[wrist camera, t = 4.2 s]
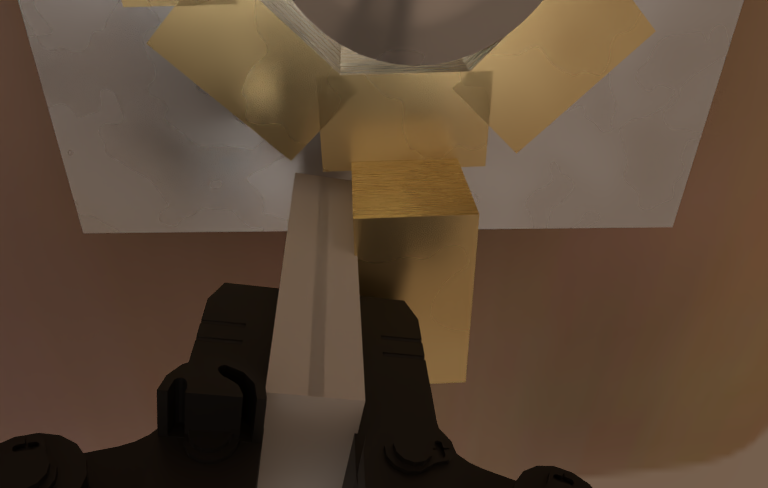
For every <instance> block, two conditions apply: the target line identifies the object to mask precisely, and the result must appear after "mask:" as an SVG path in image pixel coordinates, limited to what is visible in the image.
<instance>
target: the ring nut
mask: <svg viewBox="0 0 768 488" xmlns="http://www.w3.org/2000/svg"><path fill="white" fill-rule="evenodd" d="M122 4H123V7H153V6H174V8H173V9H172V10H171V12H170V13H169V14H168V16H167V17H166V18H165V19H164V21H163V22H162V23H161V25H160V26H159V27H158V29H157V30H156V31H155V33H154V34H153V35H152V37H151V38H150V39H149V41H148V42H147V43H146V44H147V45H149V46H150V47H151V48H152V49H153V50H155V51H156V52H157V53H158V54H160V55H161V56H162V57H163V58H165V59H166V60H167V61H168V62H170V63H171V64H172V65H173V66H174V67H176V68H177V69H178V70H179V71H181V72H182V73H183V74H184V75H186V76H187V77H188V78H189V79H190V80H192V81H193V82H194V83H195V84H197V85H198V86H199V87H200V88H202V89H203V90H204V91H205V92H207V93H208V94H209V95H210V96H211V97H213V98H214V99H215V100H216V101H218V102H219V103H220V104H221V105H223V106H224V107H225V108H226V109H227V110H229V111H230V112H231V113H232V114H234V115H235V116H236V117H237V118H239V119H240V120H241V121H242V122H244V123H245V124H246V125H247V126H248V127H250V128H251V129H252V130H253V131H255V132H256V133H257V134H258V135H260V136H261V137H262V138H263V139H264V140H266V141H267V142H268V143H269V144H271V145H272V146H273V147H274V148H276V149H277V150H278V151H279V152H281V153H282V154H283V155H284V156H285V157H287V158H288V159H289V160H290V161H292V160H293V158H294V157H295V156H296V155H297V154H298V153H299V152H300V151H301V150H302V149H303V148H304V147H305V146H306V145H307V144H308V143H309V142H310V141H311V140H312V139H313V138H314V137H315V135H316V134H317V133H318V132H319V131H320V138H321V152H322V166H323V172H330V171H352V203H353V232H354V256H357V257H358V275H359V294H360V296H366V297H375V298H385V299H394V300H403V301H405V302H406V304H407V305H408V306H409V308H410V309H411V310H412V312H413V313H414V314H415V316H416V317H417V318H418V321H419V327H420V332H421V338H422V341H421V343H423V349H424V354H425V358H424V360H426V365H427V371H428V376H429V382H430V384H437V383H457V382H466V371H467V359H468V347H469V335H470V323H471V311H472V299H473V287H474V275H475V262H476V250H477V238H478V226H479V212H478V209H477V207H476V204H475V202H474V199H473V197H472V194H471V192H470V189H469V186H468V184H467V181H466V179H465V176H464V174H463V171H462V169H461V167H479V166H485V165H486V153H487V141H488V129H489V126H490V127H491V128H492V129H493V130H494V131H495V132H496V133H497V134H498V135H499V136H500V137H501V138H502V139H503V140H504V141H505V143H506V144H507V145H508V146H509V147H510V148H511V149H512V150H513V151H514V152H515V153H516V154H517V153H518V152H519V151H520V150H521V149H522V148H524V147H525V146H526V145H527V144H528V143H529V142H530V141H532V140H533V139H534V138H535V137H536V136H537V135H538V134H539V133H541V132H542V131H543V130H544V129H545V128H546V127H547V126H549V125H550V124H551V123H552V122H553V121H554V120H555V119H557V118H558V117H559V116H560V115H561V114H562V113H563V112H565V111H566V110H567V109H568V108H569V107H570V106H571V105H573V104H574V103H575V102H576V101H577V100H578V99H579V98H580V97H582V96H583V95H584V94H585V93H586V92H587V91H588V90H590V89H591V88H592V87H593V86H594V85H595V84H596V83H598V82H599V81H600V80H601V79H602V78H603V77H604V76H606V75H607V74H608V73H609V72H610V71H611V70H612V69H614V68H615V67H616V66H617V65H618V64H619V63H620V62H621V61H623V60H624V59H625V58H626V57H627V56H628V55H629V54H631V53H632V52H633V51H634V50H635V49H636V48H637V47H639V46H640V45H641V44H642V43H643V42H644V41H645V40H647V39H648V38H649V37H650V36H651V35H652V34H653V33H655V32H656V31H655V29H654V28H653V27H652V25H651V24H650V23H649V21H648V20H647V18H646V17H645V16H644V14H643V13H642V12H641V10H640V9H639V8H638V6H637V5H636V4H635V2H634V1H633V0H543V1H542V2H541V3H540V5H539V6H538V7H537V8H536V9H535V10H534V11H533V12H532V13H531V14H530V15H529V16H528V17H527V18H526V19H525V20H524V21H523V22H522V23H521V24H520V25H519V26H517V27H516V28H515V29H514V30H513V31H511V32H510V33H509V34H508V35H506V36H505V37H503V38H502V39H500V40H498V41H497V42H495V43H494V44H492V45H491V46H489V47H487V48H485V49H483V50H480V51H478V52H476V53H474V54H472V55H469V56H466V57H463V58H460V59H457V60H454V61H450V62H445V63H440V64H434V65H419V66H412V65H398V64H392V63H387V62H382V61H377V60H374V59H372V58H369V57H366V56H363V55H360V54H358V53H356V52H354V51H352V50H350V49H348V48H346V47H344V46H342V45H340V44H339V43H338V42H336V41H335V40H333V39H332V38H330V37H329V36H327V35H326V34H324V33H323V32H322V31H321V30H320V29H319V28H318V27H317V26H315V25H314V24H313V23H312V22H311V21H310V20H309V19H308V18H307V17H306V16H305V15H304V14H303V12H302V11H301V10H300V9H299V8H298V7H297V6H296V4H295V3H294V2H293V0H122Z"/></svg>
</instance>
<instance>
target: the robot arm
mask: <svg viewBox="0 0 768 488" xmlns="http://www.w3.org/2000/svg"><path fill="white" fill-rule="evenodd" d="M421 341H422V338H421V332H420V327H419V321H418V318H417V317H416V316H415V314H414V313H413V312H412V310H411V309H410V308H409V306H408V305H407V304H406V302H405V301H403V300H394V299H385V298H375V297H366V296H360V294H359V275H358V257H357V256H354V232H353V203H352V180H345V179H337V178H330V177H324V176H316V175H309V174H302V173H295V178H294V185H293V192H292V200H291V207H290V214H289V221H288V229H287V236H286V243H285V250H284V258H283V265H282V272H281V279H280V287H279V289H277V288H268V287H259V286H250V285H240V284H231V283H224V284H223V285H222V286H221V287H220V288H219V289H218V290H217V291H216V292H214V293H213V294H212V295H211V296H210V297H209V298H208V300H207V303H206V306H205V310H204V313H203V316H202V321H201V323H200V326H199V330H198V333H197V337H196V340H195V343H194V346H193V350H192V353H191V356H190V360H189V362H188V363H185V364H182V365H181V366H179V367H178V368H176V369H175V370H173V371H172V372H171V373H169V374H168V375H166V377H165V378H164V380H163V381H162V383H161V385H160V386H159V388H158V389H157V424H158V429H157V430H155V431H154V432H153V433H151V434H150V435H148V436H146V437H144V438H142V439H140V440H138V441H135V442H132V443H129V444H125V445H122V446H118V447H113V448H108V449H103V450H98V451H93V452H88V453H83V452H82V451H81V449H80V448H79V446H78V445H77V444H76V443H74V442H72V441H70V440H68V439H66V438H64V437H62V436H61V435H52V434H43V433H36V434H30V435H24V436H18V437H14V438H11V439H9V440H7V441H5V442H2V443H0V488H592V487H591V486H590V484H588V483H587V482H585V481H584V480H582V479H581V478H579V477H578V476H576V475H575V474H574V473H572V472H569V471H566V470H563V469H561V468H558V467H555V466H535V467H533V468H530V469H528V470H526V471H523V472H522V474H521V475H520V476H519V478H518V479H517V480H516V481H515V480H512V479H509V478H507V477H504V476H501V475H498V474H495V473H493V472H490V471H487V470H484V469H482V468H480V467H477V466H475V465H473V464H471V463H469V462H467V461H466V460H465V459H463V458H462V457H460V456H459V455H458V454H456V451H455V449H454V447H453V444H452V442H451V441H450V440H449V439H448V437H447V436H446V435H445V434H444V433H443V432H442V431H441V430H440V429H439V428H438V424H437V421H436V415H435V410H434V404H433V399H432V393H431V388H430V382H429V376H428V371H427V365H426V360H424V358H425V354H424V349H423V343H421Z"/></svg>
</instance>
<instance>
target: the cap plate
mask: <svg viewBox="0 0 768 488" xmlns="http://www.w3.org/2000/svg"><path fill="white" fill-rule="evenodd" d="M542 1H543V0H293V2H294V3H295V4H296V6H297V7H298V8H299V9H300V10H301V11H302V12H303V14H304V15H305V16H306V17H307V18H308V19H309V20H310V21H311V22H312V23H313V24H314V25H315V26H317V27H318V28H319V29H320V30H321V31H322V32H323V33H324V34H326V35H327V36H329V37H330V38H332V39H333V40H335V41H336V42H338V43H339V44H340V45H342V46H344V47H346V48H348V49H350V50H352V51H354V52H356V53H358V54H360V55H363V56H366V57H369V58H372V59H374V60H377V61H382V62H387V63H392V64H398V65H412V66H419V65H434V64H440V63H445V62H450V61H454V60H457V59H460V58H463V57H466V56H469V55H472V54H474V53H476V52H478V51H480V50H483V49H485V48H487V47H489V46H491V45H492V44H494V43H495V42H497V41H498V40H500V39H502V38H503V37H505V36H506V35H508V34H509V33H510V32H511V31H513V30H514V29H515V28H516V27H517V26H519V25H520V24H521V23H522V22H523V21H524V20H525V19H526V18H527V17H528V16H529V15H530V14H531V13H532V12H533V11H534V10H535V9H536V8H537V7H538V6H539V5H540V3H541V2H542ZM633 1H634V2H635V4H636V5H637V6H638V8H639V9H640V10H641V12H642V13H643V14H644V16H645V17H646V18H647V20H648V21H649V23H650V24H651V25H652V27H653V28H654V29H655V31H656V32H655V33H653V34H652V35H651V36H650V37H649V38H648V39H647V40H645V41H644V42H643V43H642V44H641V45H640V46H639V47H637V48H636V49H635V50H634V51H633V52H632V53H631V54H629V55H628V56H627V57H626V58H625V59H624V60H623V61H621V62H620V63H619V64H618V65H617V66H616V67H615V68H614V69H612V70H611V71H610V72H609V73H608V74H607V75H606V76H604V77H603V78H602V79H601V80H600V81H599V82H598V83H596V84H595V85H594V86H593V87H592V88H591V89H590V90H588V91H587V92H586V93H585V94H584V95H583V96H582V97H580V98H579V99H578V100H577V101H576V102H575V103H574V104H573V105H571V106H570V107H569V108H568V109H567V110H566V111H565V112H563V113H562V114H561V115H560V116H559V117H558V118H557V119H555V120H554V121H553V122H552V123H551V124H550V125H549V126H547V127H546V128H545V129H544V130H543V131H542V132H541V133H539V134H538V135H537V136H536V137H535V138H534V139H533V140H532V141H530V142H529V143H528V144H527V145H526V146H525V147H524V148H522V149H521V150H520V151H519V152H518V153H517V154H516V153H515V152H514V151H513V150H512V149H511V148H510V147H509V146H508V145H507V144H506V143H505V141H504V140H503V139H502V138H501V137H500V136H499V135H498V134H497V133H496V132H495V131H494V130H493V129H492V128H491V127H490V126H489V129H488V141H487V153H486V165H485V166H479V167H461V169H462V171H463V174H464V176H465V179H466V181H467V184H468V186H469V189H470V192H471V194H472V197H473V199H474V202H475V204H476V207H477V209H478V212H479V226H478V229H542V228H637V227H673V224H674V221H675V217H676V214H677V211H678V208H679V205H680V202H681V198H682V195H683V192H684V189H685V186H686V183H687V179H688V176H689V173H690V170H691V167H692V163H693V160H694V157H695V154H696V151H697V148H698V144H699V141H700V138H701V135H702V132H703V128H704V125H705V122H706V119H707V116H708V113H709V109H710V106H711V103H712V100H713V97H714V93H715V90H716V87H717V84H718V81H719V78H720V74H721V71H722V68H723V65H724V62H725V59H726V55H727V52H728V49H729V46H730V43H731V39H732V36H733V33H734V30H735V27H736V24H737V20H738V17H739V14H740V11H741V8H742V4H743V1H744V0H633ZM18 3H19V6H20V10H21V13H22V17H23V20H24V24H25V28H26V31H27V35H28V38H29V42H30V45H31V49H32V53H33V56H34V60H35V63H36V67H37V70H38V74H39V78H40V81H41V85H42V88H43V92H44V95H45V99H46V103H47V106H48V110H49V113H50V117H51V120H52V124H53V127H54V131H55V135H56V138H57V142H58V145H59V149H60V152H61V156H62V160H63V163H64V167H65V170H66V174H67V177H68V181H69V185H70V188H71V192H72V195H73V199H74V202H75V206H76V210H77V213H78V217H79V220H80V224H81V227H82V231H83V233H161V232H256V231H287V229H288V221H289V214H290V207H291V200H292V192H293V185H294V178H295V173H302V174H309V175H316V176H324V177H330V178H337V179H345V180H352V171H330V172H323V166H322V152H321V138H320V131H319V132H318V133H317V134H316V135H315V137H314V138H313V139H312V140H311V141H310V142H309V143H308V144H307V145H306V146H305V147H304V148H303V149H302V150H301V151H300V152H299V153H298V154H297V155H296V156H295V157H294V158H293V160H292V161H290V160H289V159H288V158H287V157H285V156H284V155H283V154H282V153H281V152H279V151H278V150H277V149H276V148H274V147H273V146H272V145H271V144H269V143H268V142H267V141H266V140H264V139H263V138H262V137H261V136H260V135H258V134H257V133H256V132H255V131H253V130H252V129H251V128H250V127H248V126H247V125H246V124H245V123H244V122H242V121H241V120H240V119H239V118H237V117H236V116H235V115H234V114H232V113H231V112H230V111H229V110H227V109H226V108H225V107H224V106H223V105H221V104H220V103H219V102H218V101H216V100H215V99H214V98H213V97H211V96H210V95H209V94H208V93H207V92H205V91H204V90H203V89H202V88H200V87H199V86H198V85H197V84H195V83H194V82H193V81H192V80H190V79H189V78H188V77H187V76H186V75H184V74H183V73H182V72H181V71H179V70H178V69H177V68H176V67H174V66H173V65H172V64H171V63H170V62H168V61H167V60H166V59H165V58H163V57H162V56H161V55H160V54H158V53H157V52H156V51H155V50H153V49H152V48H151V47H150V46H149V45H147V44H146V43H147V42H148V41H149V39H150V38H151V37H152V35H153V34H154V33H155V31H156V30H157V29H158V27H159V26H160V25H161V23H162V22H163V21H164V19H165V18H166V17H167V16H168V14H169V13H170V12H171V10H172V9H173V8H174V6H153V7H123V4H122V0H18Z"/></svg>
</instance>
